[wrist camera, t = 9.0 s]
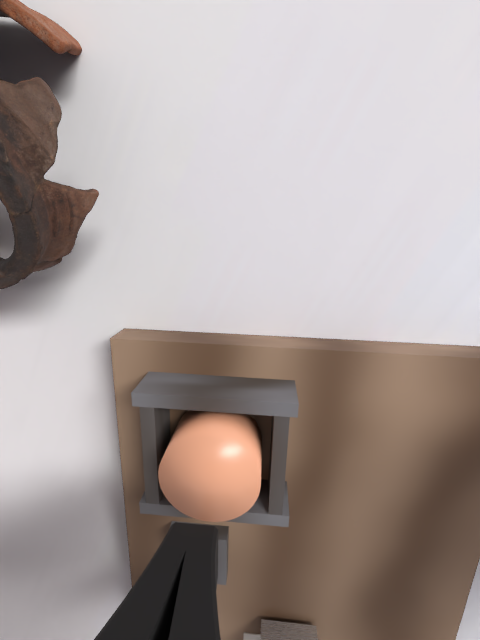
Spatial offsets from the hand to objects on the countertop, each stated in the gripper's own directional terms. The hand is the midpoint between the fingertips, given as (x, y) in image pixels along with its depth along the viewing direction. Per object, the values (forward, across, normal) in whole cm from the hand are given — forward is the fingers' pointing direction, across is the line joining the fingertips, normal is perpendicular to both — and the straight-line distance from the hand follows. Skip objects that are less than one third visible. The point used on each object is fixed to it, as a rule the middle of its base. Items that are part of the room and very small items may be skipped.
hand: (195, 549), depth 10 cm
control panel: (+7, -4, +7) cm, 11 cm away
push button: (+5, 0, 0) cm, 5 cm away
